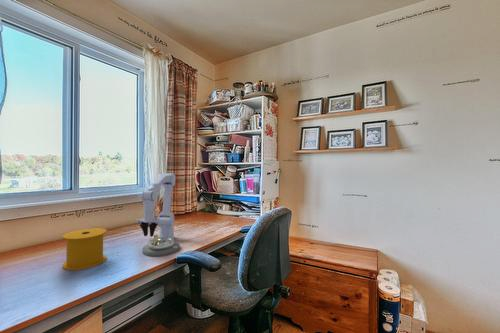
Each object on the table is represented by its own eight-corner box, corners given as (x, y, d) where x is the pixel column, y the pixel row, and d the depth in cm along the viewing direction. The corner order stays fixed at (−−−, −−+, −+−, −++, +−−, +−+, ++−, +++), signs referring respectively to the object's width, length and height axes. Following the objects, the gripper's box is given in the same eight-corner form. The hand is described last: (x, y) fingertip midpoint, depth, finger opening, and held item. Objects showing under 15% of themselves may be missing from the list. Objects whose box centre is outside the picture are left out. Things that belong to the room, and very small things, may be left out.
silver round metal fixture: (157, 241, 142) (157, 228, 142) (178, 242, 140) (178, 230, 140) (143, 249, 129) (143, 235, 129) (166, 251, 126) (166, 236, 126)
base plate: (155, 243, 146) (155, 239, 146) (185, 245, 143) (185, 241, 143) (134, 255, 126) (134, 250, 126) (168, 257, 123) (168, 253, 123)
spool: (110, 262, 116) (110, 233, 116) (64, 274, 103) (65, 240, 103) (101, 252, 129) (102, 226, 129) (60, 261, 116) (60, 232, 116)
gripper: (132, 212, 127) (132, 237, 127) (157, 213, 125) (156, 238, 125) (140, 210, 134) (140, 233, 134) (163, 211, 131) (163, 235, 131)
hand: (148, 236), depth 130 cm, fingers open, 3 cm apart
